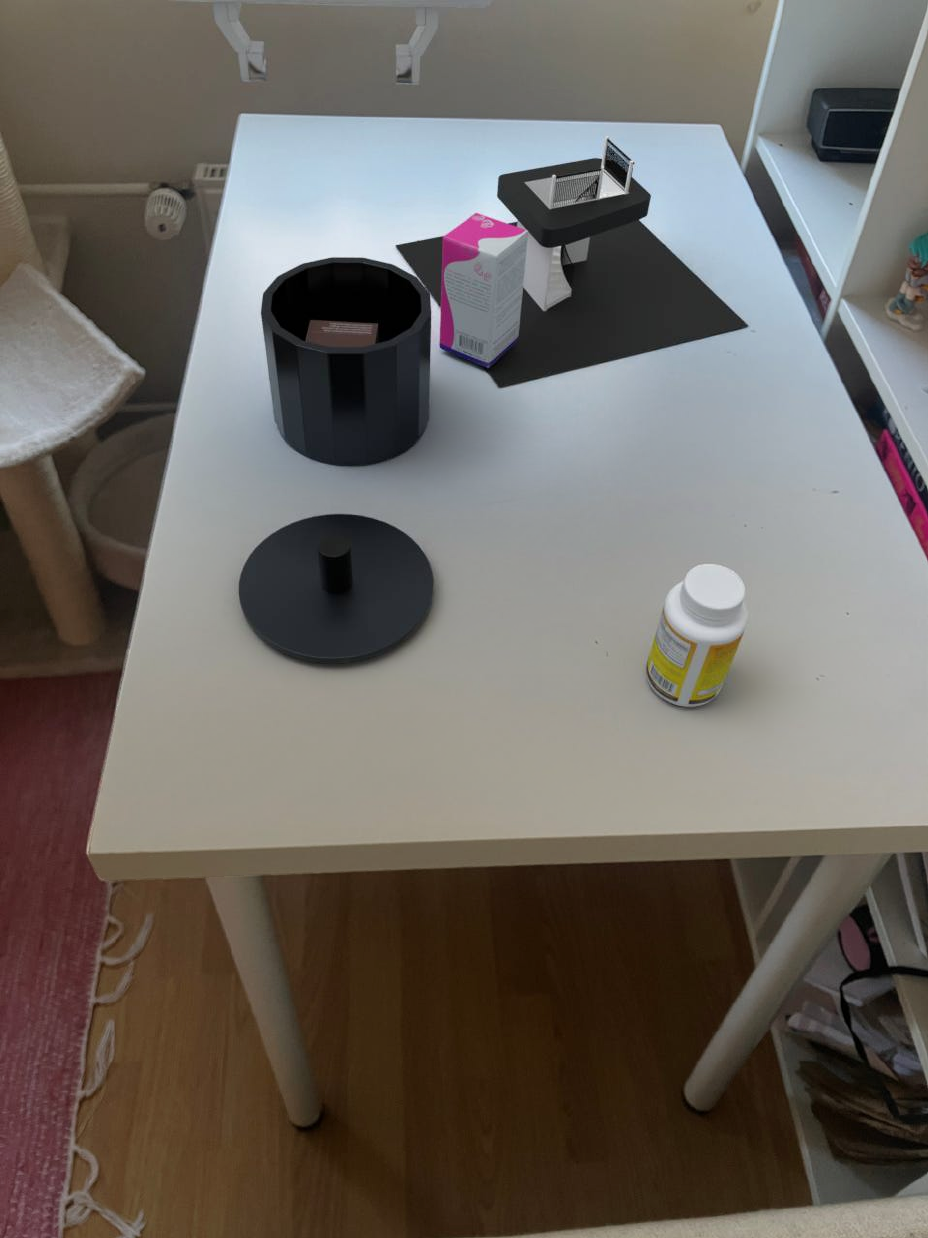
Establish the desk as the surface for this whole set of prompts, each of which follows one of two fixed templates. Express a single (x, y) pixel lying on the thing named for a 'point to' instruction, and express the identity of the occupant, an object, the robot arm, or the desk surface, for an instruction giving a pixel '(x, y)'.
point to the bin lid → (336, 588)
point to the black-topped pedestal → (588, 272)
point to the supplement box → (482, 288)
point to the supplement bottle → (697, 636)
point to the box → (342, 333)
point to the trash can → (349, 360)
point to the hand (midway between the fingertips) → (331, 79)
